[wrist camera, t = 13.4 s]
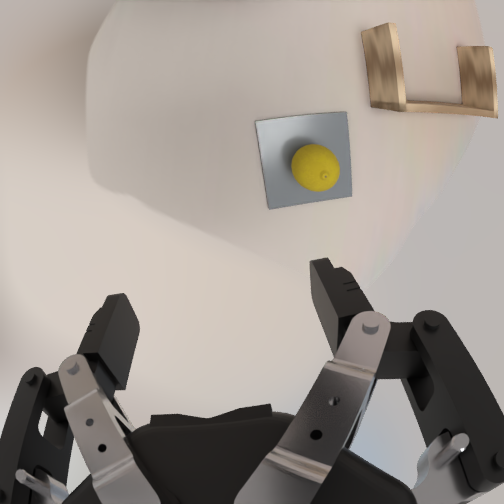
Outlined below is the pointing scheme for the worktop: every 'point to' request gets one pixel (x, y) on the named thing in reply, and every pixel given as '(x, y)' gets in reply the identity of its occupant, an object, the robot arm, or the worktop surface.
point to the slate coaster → (289, 142)
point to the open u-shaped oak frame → (393, 98)
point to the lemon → (315, 167)
